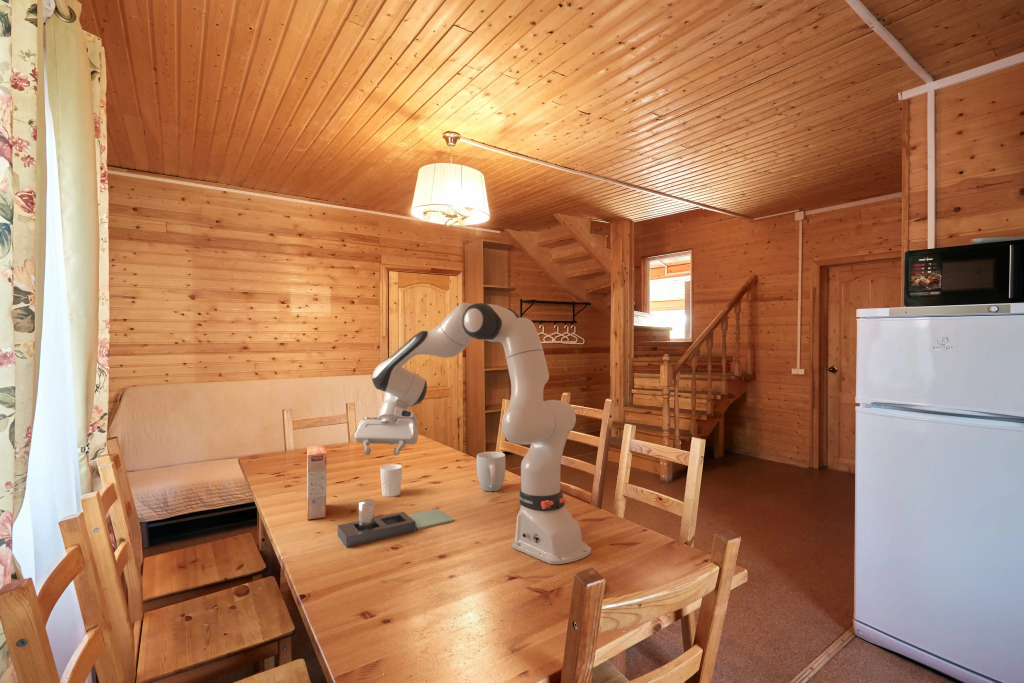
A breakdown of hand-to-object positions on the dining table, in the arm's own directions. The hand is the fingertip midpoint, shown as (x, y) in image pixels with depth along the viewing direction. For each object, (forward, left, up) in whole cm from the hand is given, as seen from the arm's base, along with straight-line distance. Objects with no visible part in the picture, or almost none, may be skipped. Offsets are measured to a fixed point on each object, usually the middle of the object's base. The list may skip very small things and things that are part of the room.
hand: (381, 454), depth 154 cm
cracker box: (+19, +16, -21) cm, 32 cm away
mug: (+7, -44, -21) cm, 50 cm away
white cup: (+24, -11, -21) cm, 34 cm away
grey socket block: (-10, +5, -21) cm, 24 cm away
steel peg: (-10, +8, -21) cm, 24 cm away
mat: (-8, -12, -21) cm, 26 cm away
